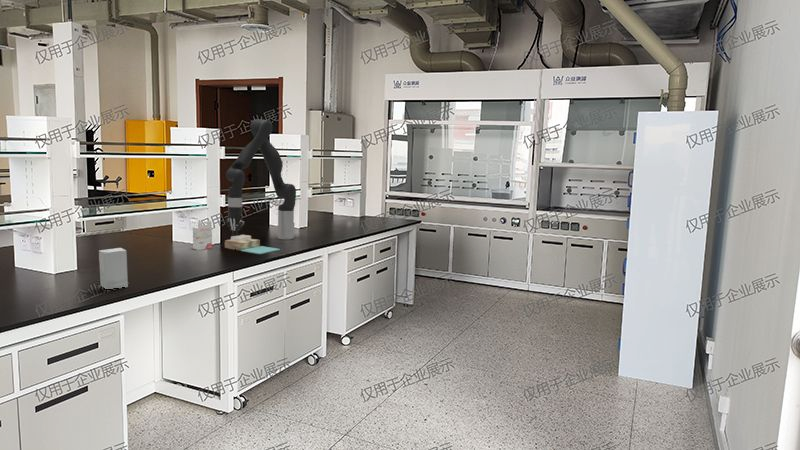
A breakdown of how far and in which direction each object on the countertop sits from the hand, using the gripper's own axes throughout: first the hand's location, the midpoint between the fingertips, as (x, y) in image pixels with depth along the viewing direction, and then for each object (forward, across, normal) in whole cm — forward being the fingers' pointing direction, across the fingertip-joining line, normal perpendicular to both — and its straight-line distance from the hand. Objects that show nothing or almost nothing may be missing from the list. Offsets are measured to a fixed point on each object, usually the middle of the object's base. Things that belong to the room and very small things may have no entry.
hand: (234, 237), depth 305 cm
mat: (+5, -18, 0) cm, 19 cm away
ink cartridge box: (+5, +7, +16) cm, 18 cm away
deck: (+5, -6, 0) cm, 7 cm away
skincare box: (+5, -28, +92) cm, 96 cm away
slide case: (+1, -4, 0) cm, 5 cm away
